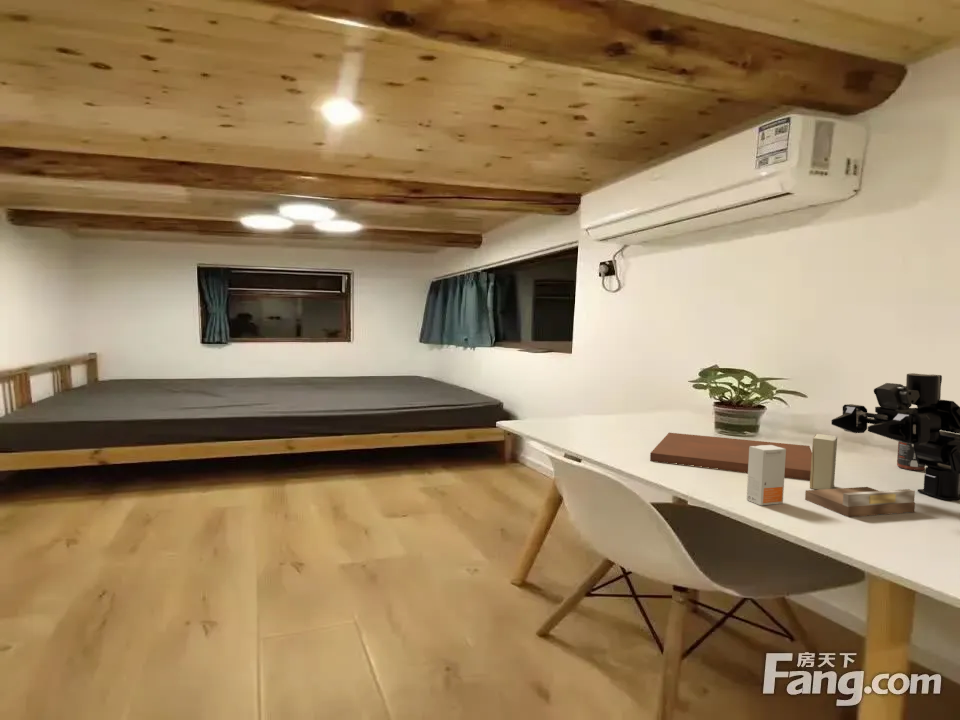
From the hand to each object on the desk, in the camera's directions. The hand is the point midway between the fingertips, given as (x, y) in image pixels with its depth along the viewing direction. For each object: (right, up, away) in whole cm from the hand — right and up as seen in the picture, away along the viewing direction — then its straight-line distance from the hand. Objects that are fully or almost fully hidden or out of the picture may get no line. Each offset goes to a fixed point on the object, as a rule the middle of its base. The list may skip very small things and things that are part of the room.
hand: (849, 425), depth 117 cm
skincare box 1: (-18, -17, 0) cm, 25 cm away
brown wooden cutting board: (-6, -15, +40) cm, 43 cm away
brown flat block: (+1, -17, -2) cm, 17 cm away
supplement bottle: (+36, -15, +29) cm, 49 cm away
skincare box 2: (+1, -16, +11) cm, 20 cm away
